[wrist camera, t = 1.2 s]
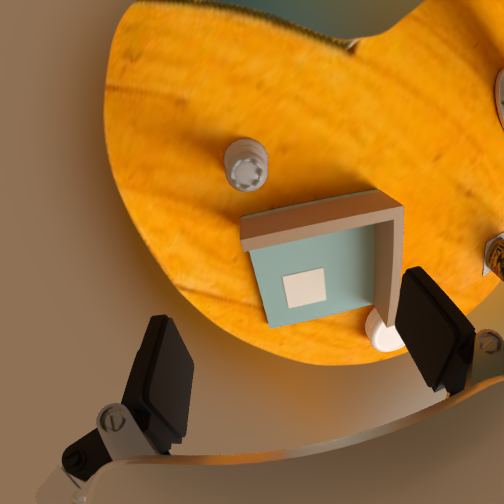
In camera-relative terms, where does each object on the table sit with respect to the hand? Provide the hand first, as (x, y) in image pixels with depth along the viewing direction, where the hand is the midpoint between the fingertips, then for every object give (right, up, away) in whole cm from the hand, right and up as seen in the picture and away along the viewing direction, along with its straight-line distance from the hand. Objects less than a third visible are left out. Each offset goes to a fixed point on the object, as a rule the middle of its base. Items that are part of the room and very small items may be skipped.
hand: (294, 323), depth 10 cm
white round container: (+20, -7, +28) cm, 35 cm away
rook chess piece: (-2, +12, +17) cm, 21 cm away
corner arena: (+7, +1, +22) cm, 23 cm away
